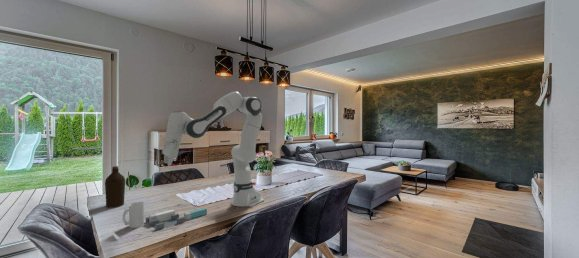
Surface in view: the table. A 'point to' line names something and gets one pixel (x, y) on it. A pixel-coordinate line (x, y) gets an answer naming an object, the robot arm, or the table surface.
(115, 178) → the olive oil
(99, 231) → the table surface
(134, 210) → the mug
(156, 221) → the cord comb
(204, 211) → the teal rectangular block
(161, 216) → the grey elongated block
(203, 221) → the table surface
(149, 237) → the table surface
